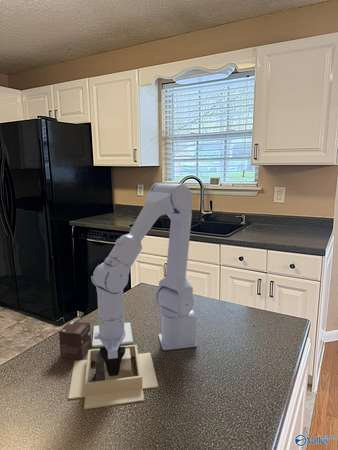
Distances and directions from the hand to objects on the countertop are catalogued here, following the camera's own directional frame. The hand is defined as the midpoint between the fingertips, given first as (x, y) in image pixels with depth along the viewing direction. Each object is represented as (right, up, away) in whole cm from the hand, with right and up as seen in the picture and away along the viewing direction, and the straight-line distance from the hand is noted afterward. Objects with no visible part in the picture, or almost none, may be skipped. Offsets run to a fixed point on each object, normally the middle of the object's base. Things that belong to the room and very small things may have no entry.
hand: (113, 368), depth 75 cm
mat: (-3, +2, +18) cm, 18 cm away
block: (0, -1, 0) cm, 1 cm away
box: (-11, 0, +9) cm, 15 cm away
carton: (0, -1, 0) cm, 1 cm away
